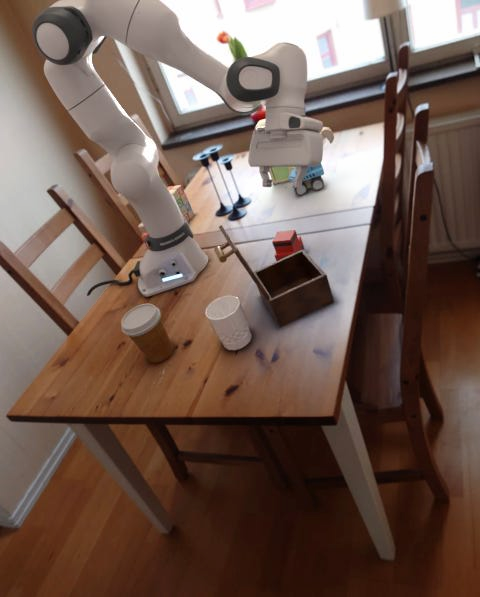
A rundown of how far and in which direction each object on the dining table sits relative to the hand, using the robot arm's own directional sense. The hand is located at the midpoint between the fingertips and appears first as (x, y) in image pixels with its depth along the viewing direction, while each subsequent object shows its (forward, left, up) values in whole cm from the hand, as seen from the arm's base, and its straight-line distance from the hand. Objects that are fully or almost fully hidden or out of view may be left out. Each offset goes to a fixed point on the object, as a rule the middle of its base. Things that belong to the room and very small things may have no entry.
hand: (281, 187), depth 109 cm
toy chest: (-7, -12, -22) cm, 26 cm away
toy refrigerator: (+15, +55, -22) cm, 62 cm away
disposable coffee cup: (-42, -9, -22) cm, 48 cm away
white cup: (-24, -17, -22) cm, 37 cm away
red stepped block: (-2, +4, -22) cm, 23 cm away
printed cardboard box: (-29, +53, -22) cm, 65 cm away
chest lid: (-15, -12, -7) cm, 21 cm away
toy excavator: (+21, +39, -22) cm, 50 cm away
